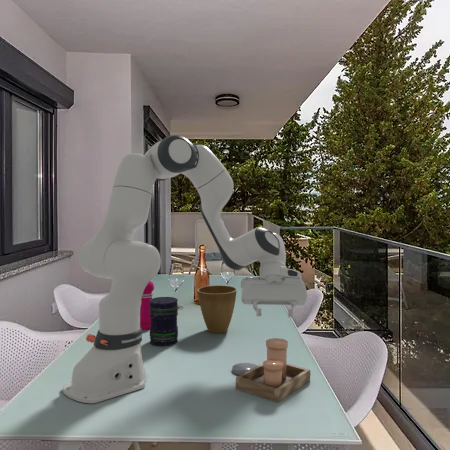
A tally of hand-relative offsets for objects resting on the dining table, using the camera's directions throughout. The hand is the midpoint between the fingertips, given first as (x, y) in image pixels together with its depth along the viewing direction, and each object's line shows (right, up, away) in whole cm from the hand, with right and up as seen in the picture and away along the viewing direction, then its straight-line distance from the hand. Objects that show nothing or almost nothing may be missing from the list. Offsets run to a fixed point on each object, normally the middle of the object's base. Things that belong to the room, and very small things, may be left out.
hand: (274, 315), depth 134 cm
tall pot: (-1, -15, -10) cm, 18 cm away
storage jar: (-36, -14, +22) cm, 45 cm away
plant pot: (-18, -13, +36) cm, 42 cm away
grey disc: (-9, -15, -3) cm, 18 cm away
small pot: (-2, -16, -18) cm, 24 cm away
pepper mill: (-45, -13, +40) cm, 62 cm away
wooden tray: (-2, -16, -13) cm, 21 cm away
